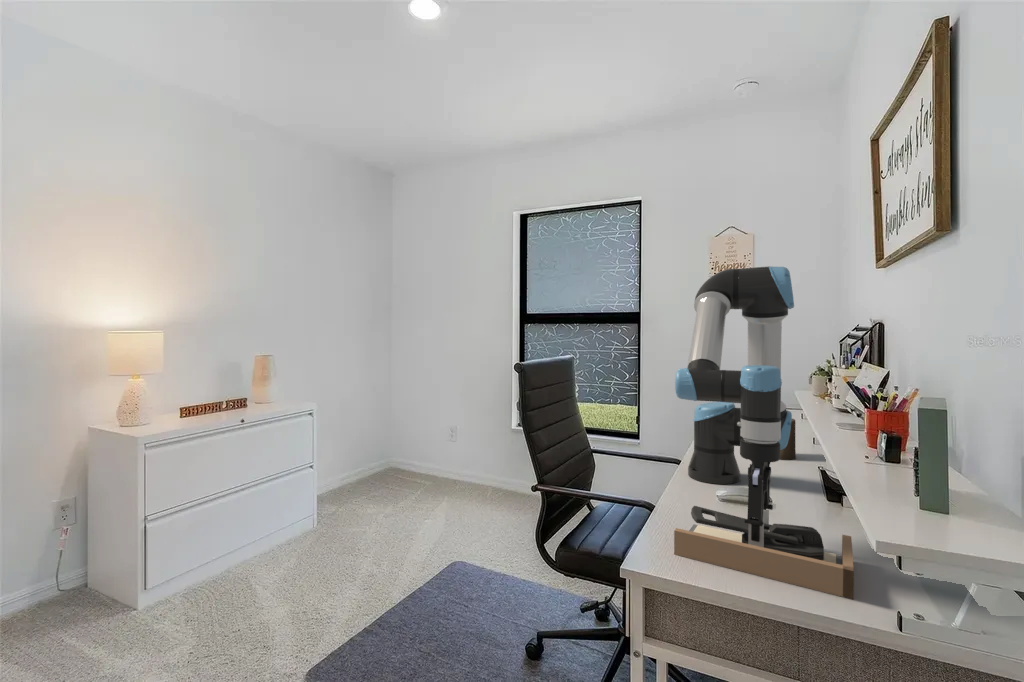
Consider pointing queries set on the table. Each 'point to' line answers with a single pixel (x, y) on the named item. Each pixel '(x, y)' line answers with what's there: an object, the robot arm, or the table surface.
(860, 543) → the table surface
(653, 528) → the table surface
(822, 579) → the tray
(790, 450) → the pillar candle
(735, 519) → the zipper pull
